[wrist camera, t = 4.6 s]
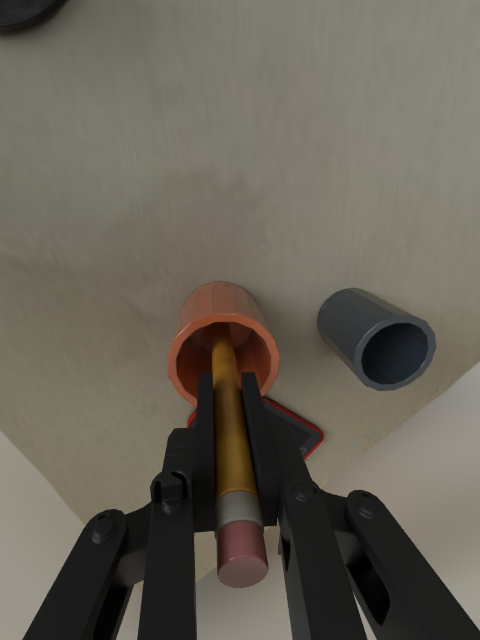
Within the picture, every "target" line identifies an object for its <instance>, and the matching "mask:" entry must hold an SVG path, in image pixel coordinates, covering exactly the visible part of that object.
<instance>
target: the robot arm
mask: <svg viewBox="0 0 480 640" xmlns="http://www.w3.org/2000/svg"><path fill="white" fill-rule="evenodd" d="M241 396H242V402H243V407H244V413H245V419H246V425H247V431H248V437H249V443H250V449H251V455H252V461H253V467H254V472H255V478H256V484H257V490H258V496H259V502H260V508H261V514H262V519H263V525H264V527H266V526H276V525H277V517H278V521H279V525H280V537H279V545H278V554H279V555H281V556H282V563H283V570H284V577H285V585H286V593H287V600H288V608H289V615H290V622H291V630H292V637H293V640H367V637H366V633H365V630H364V627H363V624H362V620H361V617H360V614H359V611H358V607H357V604H356V601H355V598H354V595H355V597H356V599H357V601H358V603H359V605H360V607H361V609H362V611H363V613H364V615H365V617H366V619H367V621H368V623H369V625H370V627H371V629H372V631H373V633H374V635H375V637H376V639H377V640H480V631H479V629H478V628H477V627H476V625H475V624H474V623H473V621H472V620H471V619H470V618H469V616H468V615H467V613H466V612H465V611H464V609H463V608H462V607H461V605H460V604H459V603H458V602H457V600H456V599H455V598H454V596H453V595H452V594H451V592H450V591H449V590H448V588H447V587H446V586H445V584H444V583H443V582H442V580H441V579H440V578H439V576H438V575H437V574H436V573H435V571H434V570H433V569H432V567H431V566H430V565H429V563H428V562H427V561H426V559H425V558H424V557H423V555H422V554H421V553H420V551H419V550H418V549H417V548H416V546H415V545H414V543H413V542H412V541H411V539H410V538H409V537H408V535H407V534H406V533H405V532H404V530H403V529H402V528H401V526H400V525H399V524H398V522H397V521H396V520H395V518H394V517H393V516H392V515H391V513H390V512H389V510H388V509H387V508H386V507H385V505H384V504H383V503H382V502H381V501H380V500H379V499H378V498H377V497H376V496H375V495H373V494H371V493H370V492H367V491H363V490H354V491H352V492H350V493H349V495H348V497H347V498H346V497H342V496H337V495H334V494H330V493H327V492H325V491H323V490H322V489H320V488H319V486H318V485H317V484H316V483H315V482H314V481H312V479H311V477H310V474H309V472H308V469H307V466H306V464H305V461H304V458H303V456H302V453H301V450H300V449H299V445H298V442H297V441H296V437H295V434H294V432H293V430H292V429H291V428H290V427H289V426H288V424H287V423H286V422H285V423H269V422H268V418H267V415H266V411H265V407H264V404H263V400H262V397H261V393H260V389H259V386H258V382H257V378H256V375H255V372H241ZM150 492H151V500H152V501H151V502H150V503H148V504H147V505H146V506H144V507H143V508H141V509H139V510H136V511H133V512H131V513H128V514H126V515H125V514H124V513H123V512H122V511H120V510H116V509H110V510H105V511H103V512H101V513H98V514H97V515H96V516H94V517H93V518H92V519H91V520H90V521H89V522H88V523H87V525H86V526H85V528H84V529H83V531H82V533H81V534H80V536H79V538H78V540H77V542H76V544H75V545H74V547H73V549H72V551H71V553H70V554H69V556H68V558H67V560H66V562H65V563H64V565H63V567H62V569H61V571H60V573H59V574H58V576H57V578H56V580H55V582H54V583H53V585H52V587H51V589H50V591H49V593H48V594H47V596H46V598H45V600H44V601H43V603H42V605H41V607H40V609H39V611H38V612H37V614H36V616H35V618H34V620H33V621H32V623H31V625H30V627H29V629H28V631H27V632H26V634H25V636H24V638H23V640H116V638H117V635H118V631H119V628H120V625H121V622H122V620H123V616H124V614H125V611H126V607H127V604H128V602H129V598H130V595H131V593H132V589H133V587H134V584H136V583H138V582H140V581H142V580H144V584H143V593H142V602H141V612H140V621H139V629H138V638H137V640H197V629H196V628H197V625H196V590H195V553H194V533H196V532H207V531H215V530H214V508H215V507H214V503H215V483H214V418H213V373H201V374H199V380H198V395H197V409H196V424H195V428H175V429H174V430H173V431H172V433H171V434H170V436H169V437H168V441H167V447H166V452H165V458H164V463H163V468H162V472H161V473H159V474H158V475H157V476H156V477H155V478H154V480H153V481H152V484H151V486H150ZM353 593H354V594H353Z"/></svg>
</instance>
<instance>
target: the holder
mask: <svg viewBox="0 0 480 640" xmlns="http://www.w3.org/2000/svg"><path fill="white" fill-rule="evenodd" d="M64 1H65V0H0V30H14V29H18V28H22V27H26V26H29V25H33V24H36V23H37V22H39V21H41V20H42V19H44V18H45V17H47V16H49V15H50V14H52V13H53V12H54V11H55V10H56V9H57V8H58V7H59V6H61V4H62V3H63V2H64Z"/></svg>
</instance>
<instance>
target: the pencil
mask: <svg viewBox="0 0 480 640" xmlns="http://www.w3.org/2000/svg"><path fill="white" fill-rule="evenodd" d="M212 373H213V418H214V483H215V503H214V507H215V508H214V530H215V539H216V541H217V576H218V579H219V580H220V582H221V583H223V584H224V585H226V586H229V587H234V588H243V587H248V586H252V585H254V584H256V583H258V582H260V581H261V580H262V579H263V578H264V577H265V576H266V575H267V572H268V561H267V555H266V550H265V543H264V537H263V533H264V525H263V519H262V514H261V508H260V502H259V496H258V490H257V484H256V478H255V472H254V467H253V461H252V455H251V449H250V443H249V437H248V431H247V425H246V419H245V413H244V407H243V402H242V396H241V390H240V384H239V378H238V372H237V366H236V360H235V354H234V348H233V342H232V336H231V331H230V325H229V322H214V323H212Z"/></svg>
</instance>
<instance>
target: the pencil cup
mask: <svg viewBox="0 0 480 640" xmlns="http://www.w3.org/2000/svg"><path fill="white" fill-rule="evenodd" d="M214 322H229V325H230V331H231V336H232V342H233V348H234V354H235V360H236V366H237V372H238V378H239V384H240V390H241V372H255V375H256V378H257V382H258V386H259V389H260V393H261V397H262V396H264V395H265V394H266V393H267V392H268V391H269V390H270V388H271V386H272V385H273V383H274V381H275V379H276V377H277V375H278V371H279V359H280V354H279V351H278V348H277V346H276V343H275V340H274V337H273V335H272V333H271V331H270V329H269V327H268V325H267V324H266V322H265V320H264V318H263V316H262V314H261V312H260V310H259V308H258V306H257V304H256V302H255V300H254V299H253V298H252V297H251V295H250V294H249V293H248V292H247V291H246V290H244V289H243V288H241V287H239V286H237V285H235V284H232V283H228V282H212V283H208V284H205V285H203V286H201V287H199V288H197V289H196V290H195V291H193V292H192V293H191V294H190V295H189V297H188V298H187V299H186V301H185V303H184V305H183V308H182V310H181V313H180V316H179V319H178V322H177V326H176V329H175V332H174V336H173V339H172V342H171V345H170V349H169V352H168V355H167V366H168V377H169V379H170V381H171V383H172V384H173V386H174V388H175V390H176V391H177V393H178V394H179V395H180V396H181V397H182V398H184V399H185V400H186V401H188V402H189V403H190V404H192V405H193V406H194V407H197V395H198V380H199V374H201V373H212V323H214Z"/></svg>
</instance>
